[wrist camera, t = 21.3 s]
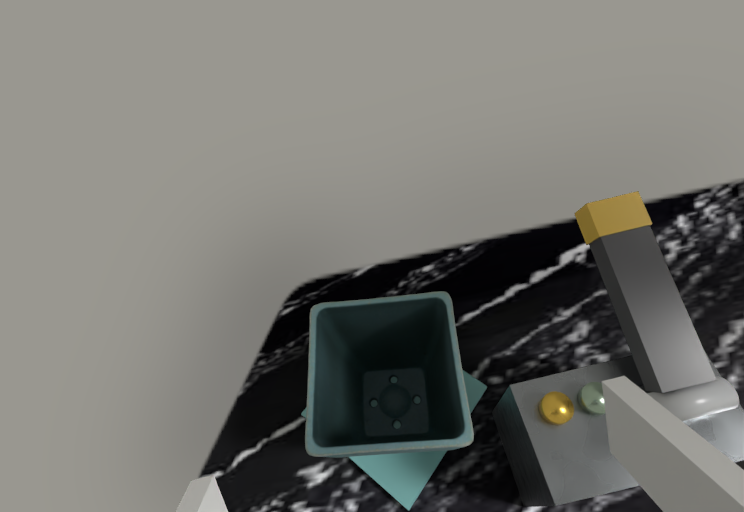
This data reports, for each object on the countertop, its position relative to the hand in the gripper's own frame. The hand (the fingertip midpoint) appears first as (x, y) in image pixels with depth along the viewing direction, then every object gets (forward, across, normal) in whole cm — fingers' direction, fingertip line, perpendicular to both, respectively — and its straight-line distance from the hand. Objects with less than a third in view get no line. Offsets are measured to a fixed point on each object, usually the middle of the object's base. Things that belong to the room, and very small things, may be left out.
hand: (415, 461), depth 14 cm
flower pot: (+16, -1, -8) cm, 18 cm away
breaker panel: (+13, +11, -12) cm, 21 cm away
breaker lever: (+6, +14, -6) cm, 16 cm away
